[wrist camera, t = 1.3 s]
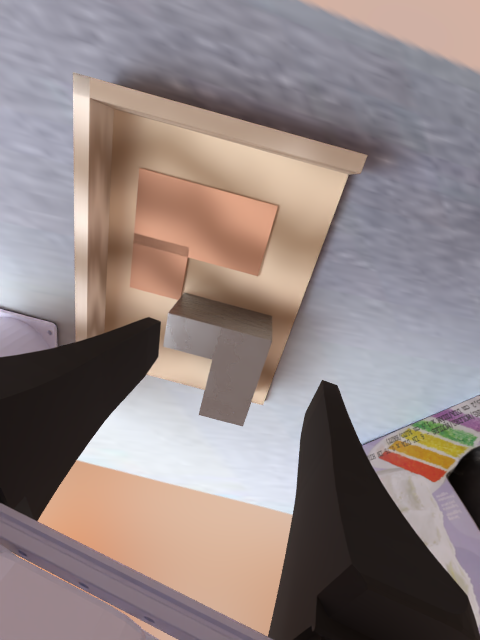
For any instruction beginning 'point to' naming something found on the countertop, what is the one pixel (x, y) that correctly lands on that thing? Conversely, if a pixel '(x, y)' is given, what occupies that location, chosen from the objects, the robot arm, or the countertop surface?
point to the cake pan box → (439, 487)
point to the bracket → (222, 351)
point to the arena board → (194, 216)
